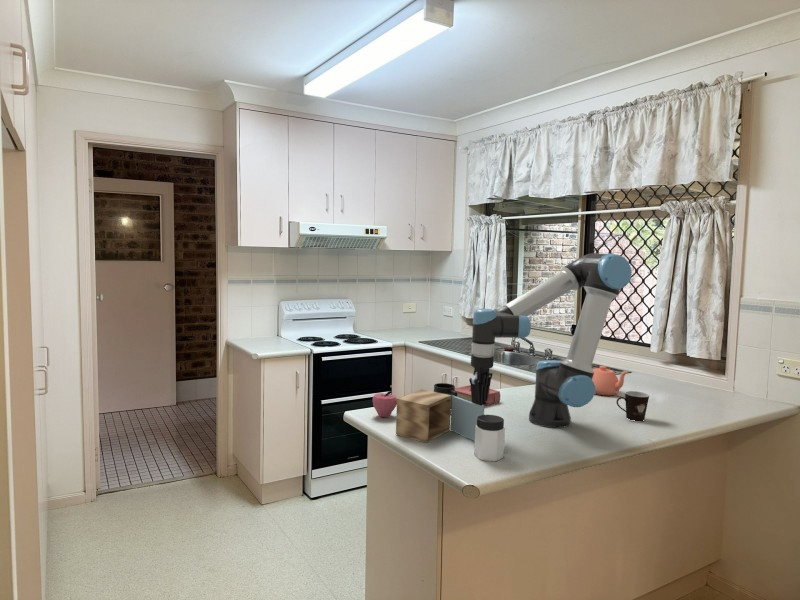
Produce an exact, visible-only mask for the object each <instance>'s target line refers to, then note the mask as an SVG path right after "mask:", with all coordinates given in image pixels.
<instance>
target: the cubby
mask: <svg viewBox="0 0 800 600" xmlns="http://www.w3.org/2000/svg"><path fill="white" fill-rule="evenodd" d="M395 422H396V423H395V435H396V434H397V435H396V436H398V435H400V436H399V437H402V436H404V438H406V437H407V439H410V438H411V440H414V441H419V442H422V443H426V444H427V443H428V442H430V441H432V440H434V439H436V438H438V437H440V436H442V435H443V434H445V433H448V432H449V431H451V430H450V426H451V395H447V394H442V393H437V392H434V391H433V390H426V389H420V390H417V391H414V392H412V393H408V394H406V395H403V396H401V397H398V398H397V405H396V420H395Z"/></svg>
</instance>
